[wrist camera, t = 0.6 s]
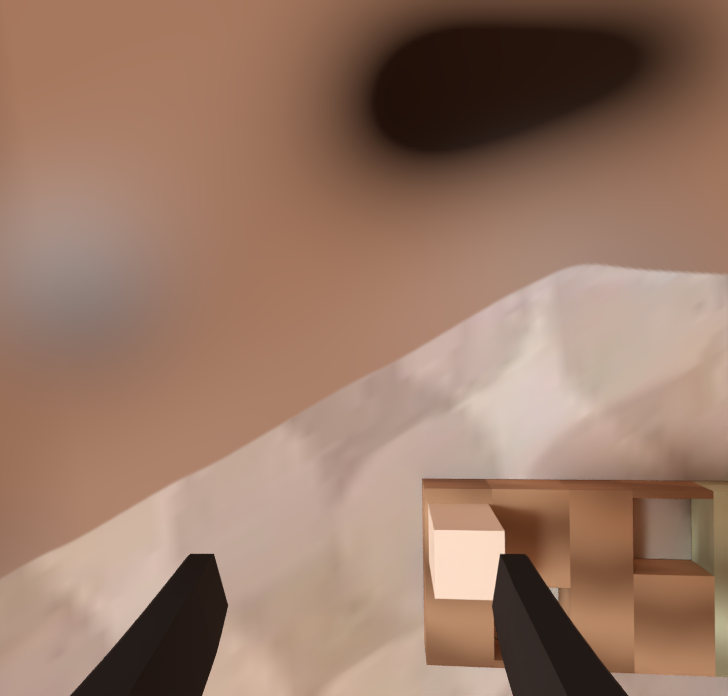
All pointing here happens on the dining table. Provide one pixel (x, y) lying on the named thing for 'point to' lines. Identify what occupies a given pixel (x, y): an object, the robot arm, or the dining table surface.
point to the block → (464, 550)
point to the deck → (596, 573)
